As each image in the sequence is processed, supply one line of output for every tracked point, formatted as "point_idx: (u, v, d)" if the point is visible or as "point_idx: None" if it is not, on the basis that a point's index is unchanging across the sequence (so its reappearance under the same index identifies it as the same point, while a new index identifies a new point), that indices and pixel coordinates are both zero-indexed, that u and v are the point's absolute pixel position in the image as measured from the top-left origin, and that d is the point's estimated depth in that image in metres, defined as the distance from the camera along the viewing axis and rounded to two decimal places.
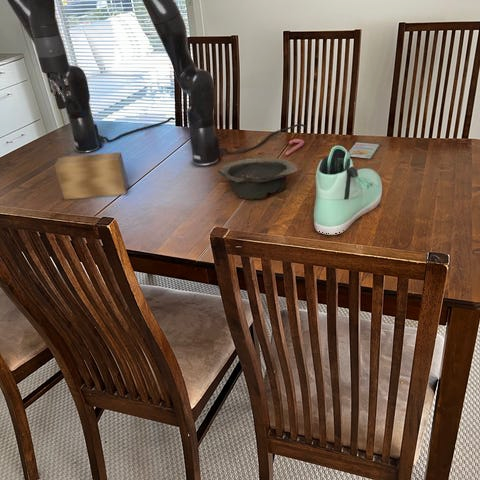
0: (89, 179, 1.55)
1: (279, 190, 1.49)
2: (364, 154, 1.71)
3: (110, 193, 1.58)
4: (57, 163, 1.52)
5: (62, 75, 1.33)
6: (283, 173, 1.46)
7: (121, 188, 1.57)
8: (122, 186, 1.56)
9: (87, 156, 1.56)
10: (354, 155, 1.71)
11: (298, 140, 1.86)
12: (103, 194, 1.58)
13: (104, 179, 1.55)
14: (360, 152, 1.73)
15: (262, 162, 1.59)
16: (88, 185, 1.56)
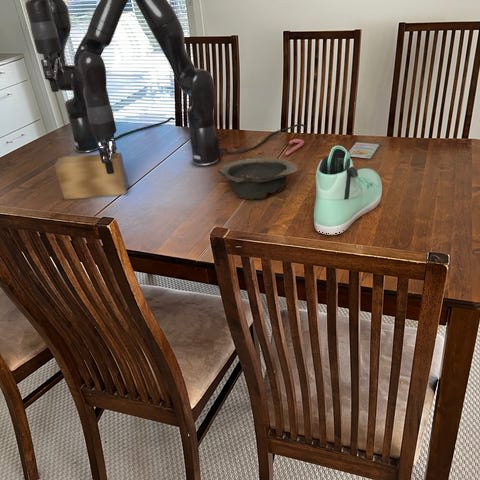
0: (89, 179, 1.55)
1: (279, 190, 1.49)
2: (364, 154, 1.71)
3: (110, 193, 1.58)
4: (57, 163, 1.52)
5: (104, 140, 1.47)
6: (283, 173, 1.46)
7: (121, 188, 1.57)
8: (122, 186, 1.56)
9: (87, 156, 1.56)
10: (354, 155, 1.71)
11: (298, 140, 1.86)
12: (103, 194, 1.58)
13: (104, 179, 1.55)
14: (360, 152, 1.73)
15: (262, 162, 1.59)
16: (88, 185, 1.56)
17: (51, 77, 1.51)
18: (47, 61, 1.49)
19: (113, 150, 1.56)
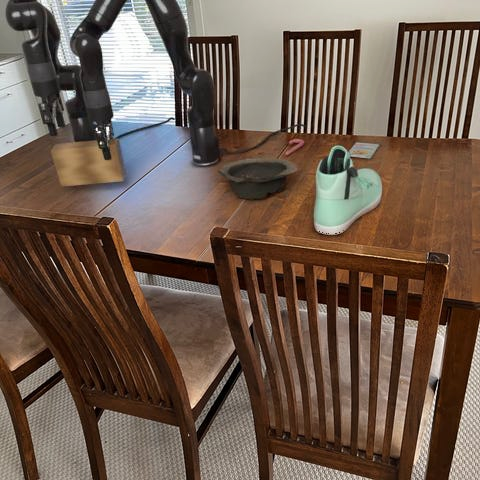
0: (86, 165, 1.52)
1: (279, 190, 1.49)
2: (364, 154, 1.71)
3: (107, 180, 1.55)
4: (53, 149, 1.50)
5: (101, 125, 1.45)
6: (283, 173, 1.46)
7: (118, 174, 1.54)
8: (120, 173, 1.54)
9: (84, 142, 1.53)
10: (354, 155, 1.71)
11: (298, 140, 1.86)
12: (100, 181, 1.55)
13: (102, 165, 1.52)
14: (360, 152, 1.73)
15: (262, 162, 1.59)
16: (85, 171, 1.53)
17: (49, 122, 1.40)
18: (45, 105, 1.38)
19: (110, 136, 1.54)
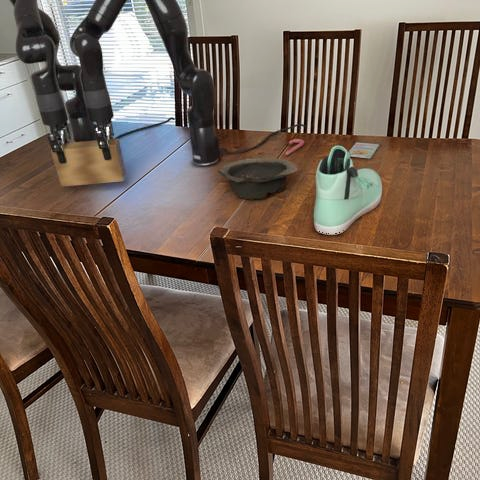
0: (87, 165, 1.52)
1: (279, 190, 1.49)
2: (364, 154, 1.71)
3: (108, 180, 1.55)
4: None
5: (101, 125, 1.45)
6: (283, 173, 1.46)
7: (118, 175, 1.54)
8: (120, 173, 1.54)
9: (84, 142, 1.53)
10: (354, 155, 1.71)
11: (298, 140, 1.86)
12: (100, 181, 1.55)
13: (102, 165, 1.52)
14: (360, 152, 1.73)
15: (262, 162, 1.59)
16: (85, 171, 1.53)
17: (59, 150, 1.46)
18: (54, 136, 1.43)
19: (110, 136, 1.54)
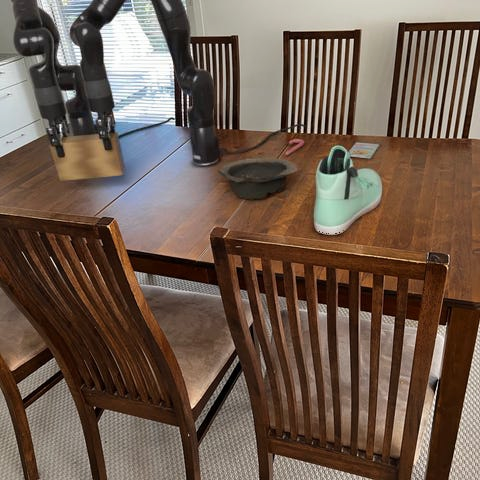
0: (85, 159, 1.51)
1: (279, 190, 1.49)
2: (364, 154, 1.71)
3: (107, 174, 1.54)
4: None
5: (102, 115, 1.44)
6: (283, 173, 1.46)
7: (117, 169, 1.54)
8: (119, 167, 1.53)
9: (83, 136, 1.52)
10: (354, 155, 1.71)
11: (298, 140, 1.86)
12: (99, 175, 1.54)
13: (101, 159, 1.52)
14: (360, 152, 1.73)
15: (262, 162, 1.59)
16: (84, 165, 1.52)
17: (57, 144, 1.45)
18: (52, 130, 1.42)
19: (112, 125, 1.53)
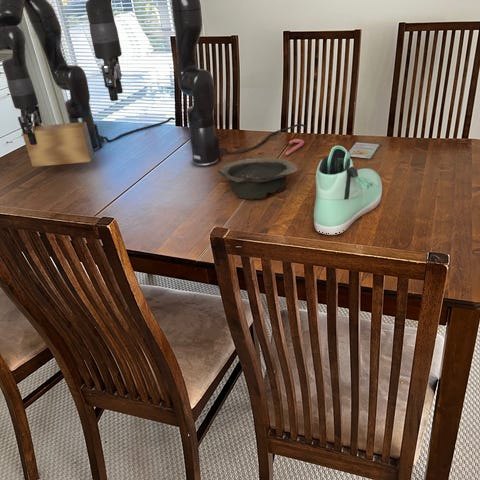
0: (56, 146, 1.64)
1: (279, 190, 1.49)
2: (364, 154, 1.71)
3: (76, 160, 1.67)
4: None
5: (108, 62, 1.36)
6: (283, 173, 1.46)
7: (86, 156, 1.66)
8: (87, 154, 1.66)
9: (54, 125, 1.65)
10: (354, 155, 1.71)
11: (298, 140, 1.86)
12: (69, 161, 1.67)
13: (70, 146, 1.64)
14: (360, 152, 1.73)
15: (262, 162, 1.59)
16: (55, 152, 1.65)
17: (29, 132, 1.57)
18: (24, 119, 1.55)
19: (118, 76, 1.45)
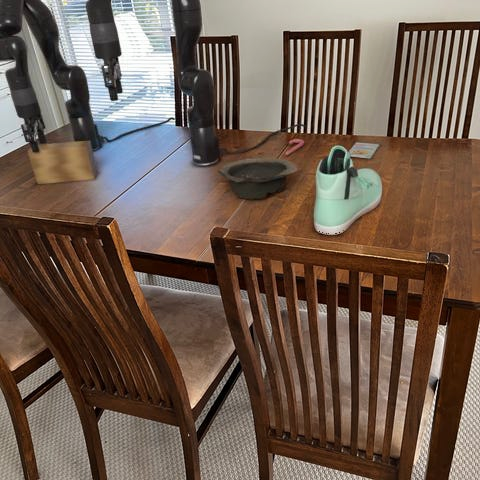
0: (60, 165, 1.67)
1: (279, 190, 1.49)
2: (364, 154, 1.71)
3: (80, 178, 1.70)
4: (30, 150, 1.65)
5: (108, 62, 1.36)
6: (283, 173, 1.46)
7: (89, 173, 1.69)
8: (91, 172, 1.69)
9: (58, 144, 1.68)
10: (354, 155, 1.71)
11: (298, 140, 1.86)
12: (73, 179, 1.70)
13: (74, 165, 1.67)
14: (360, 152, 1.73)
15: (262, 162, 1.59)
16: (59, 170, 1.68)
17: (31, 140, 1.58)
18: (27, 126, 1.56)
19: (118, 76, 1.45)
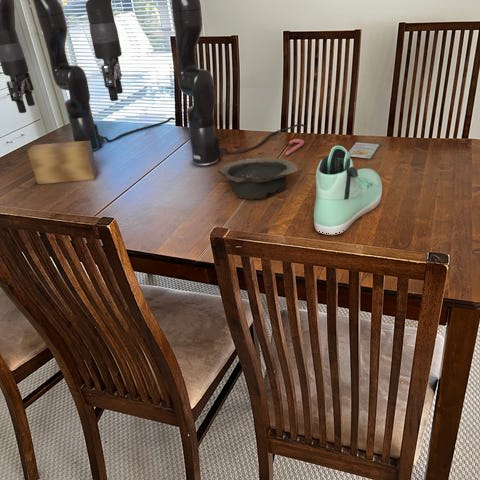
0: (60, 165, 1.67)
1: (279, 190, 1.49)
2: (364, 154, 1.71)
3: (80, 178, 1.70)
4: (30, 150, 1.65)
5: (108, 62, 1.36)
6: (283, 173, 1.46)
7: (89, 173, 1.69)
8: (91, 172, 1.69)
9: (58, 144, 1.68)
10: (354, 155, 1.71)
11: (298, 140, 1.86)
12: (73, 179, 1.70)
13: (74, 165, 1.67)
14: (360, 152, 1.73)
15: (262, 162, 1.59)
16: (59, 170, 1.68)
17: (17, 99, 1.51)
18: (13, 83, 1.49)
19: (118, 76, 1.45)
